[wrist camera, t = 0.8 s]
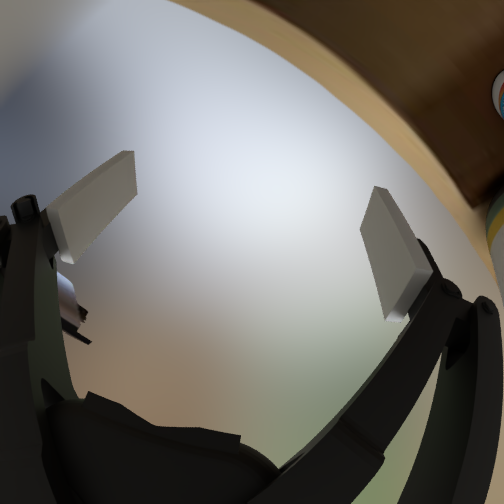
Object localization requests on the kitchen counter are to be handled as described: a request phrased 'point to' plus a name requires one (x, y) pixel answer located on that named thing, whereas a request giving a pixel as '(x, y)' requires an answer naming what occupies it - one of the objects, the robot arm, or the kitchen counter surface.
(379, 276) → the robot arm
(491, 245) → the planter
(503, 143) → the kitchen counter surface
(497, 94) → the fruit juice
